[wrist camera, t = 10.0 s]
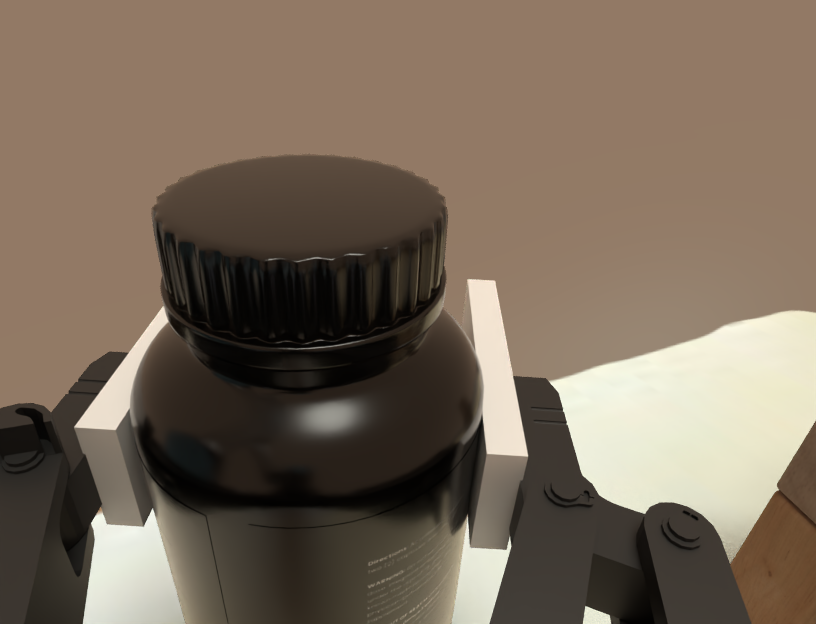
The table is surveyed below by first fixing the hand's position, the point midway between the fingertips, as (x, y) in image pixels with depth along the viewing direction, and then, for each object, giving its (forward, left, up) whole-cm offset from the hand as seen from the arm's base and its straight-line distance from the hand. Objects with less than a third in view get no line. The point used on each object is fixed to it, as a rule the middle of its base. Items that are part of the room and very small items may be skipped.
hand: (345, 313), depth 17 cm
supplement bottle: (0, -5, -7) cm, 8 cm away
